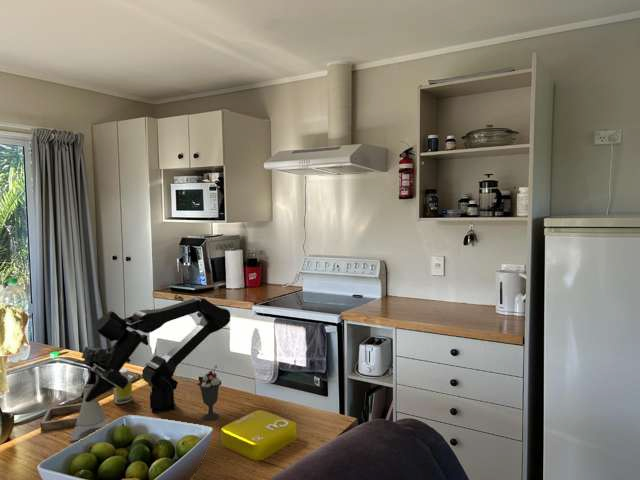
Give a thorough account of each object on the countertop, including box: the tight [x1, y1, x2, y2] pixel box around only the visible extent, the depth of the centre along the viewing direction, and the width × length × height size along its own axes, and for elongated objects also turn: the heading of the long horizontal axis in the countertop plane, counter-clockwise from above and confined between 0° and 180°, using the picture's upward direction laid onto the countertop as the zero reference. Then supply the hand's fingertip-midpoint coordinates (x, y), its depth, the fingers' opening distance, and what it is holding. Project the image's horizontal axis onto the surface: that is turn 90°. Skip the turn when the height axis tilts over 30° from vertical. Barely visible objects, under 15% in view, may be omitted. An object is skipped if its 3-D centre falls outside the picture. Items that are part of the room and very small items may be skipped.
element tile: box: [220, 409, 297, 461], centre depth 124 cm, size 15×15×5 cm
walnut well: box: [40, 403, 82, 431], centre depth 138 cm, size 11×11×2 cm
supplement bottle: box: [112, 368, 133, 405], centre depth 150 cm, size 5×5×10 cm
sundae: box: [197, 365, 222, 422], centre depth 137 cm, size 7×7×15 cm
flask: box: [75, 384, 107, 427], centre depth 130 cm, size 7×7×10 cm
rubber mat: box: [69, 420, 111, 443], centre depth 130 cm, size 9×9×1 cm
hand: (84, 399), depth 129 cm, fingers closed on flask, 3 cm apart
